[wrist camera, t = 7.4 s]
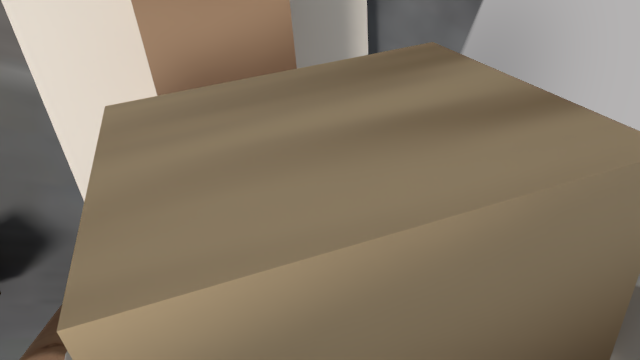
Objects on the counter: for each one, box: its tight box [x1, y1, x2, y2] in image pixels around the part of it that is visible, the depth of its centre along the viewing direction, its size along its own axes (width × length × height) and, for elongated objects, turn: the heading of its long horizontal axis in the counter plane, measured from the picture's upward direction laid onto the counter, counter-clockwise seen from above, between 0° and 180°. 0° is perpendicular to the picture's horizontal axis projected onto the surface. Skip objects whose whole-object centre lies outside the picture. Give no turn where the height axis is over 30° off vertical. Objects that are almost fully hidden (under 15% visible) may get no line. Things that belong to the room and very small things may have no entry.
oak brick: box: [57, 42, 640, 360], centre depth 8 cm, size 8×6×5 cm
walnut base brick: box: [131, 0, 297, 96], centre depth 22 cm, size 8×6×5 cm
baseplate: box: [1, 0, 368, 202], centre depth 24 cm, size 18×17×1 cm
